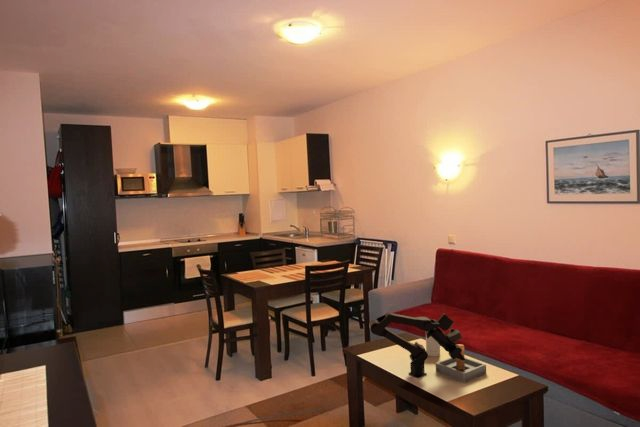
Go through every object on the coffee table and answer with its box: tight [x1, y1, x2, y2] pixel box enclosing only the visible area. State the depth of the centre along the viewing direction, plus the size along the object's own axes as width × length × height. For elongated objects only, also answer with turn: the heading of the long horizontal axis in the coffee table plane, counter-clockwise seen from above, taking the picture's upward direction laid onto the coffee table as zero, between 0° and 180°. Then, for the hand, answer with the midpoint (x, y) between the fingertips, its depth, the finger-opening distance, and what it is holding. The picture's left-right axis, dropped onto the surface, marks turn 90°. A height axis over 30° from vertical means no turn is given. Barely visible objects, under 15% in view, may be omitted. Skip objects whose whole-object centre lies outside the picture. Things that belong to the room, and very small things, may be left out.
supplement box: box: [425, 336, 441, 357], centre depth 243 cm, size 7×7×13 cm
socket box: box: [435, 357, 487, 384], centre depth 216 cm, size 17×17×4 cm
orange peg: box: [456, 343, 466, 371], centre depth 216 cm, size 4×4×13 cm
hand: (463, 358), depth 216 cm, fingers closed on orange peg, 4 cm apart
